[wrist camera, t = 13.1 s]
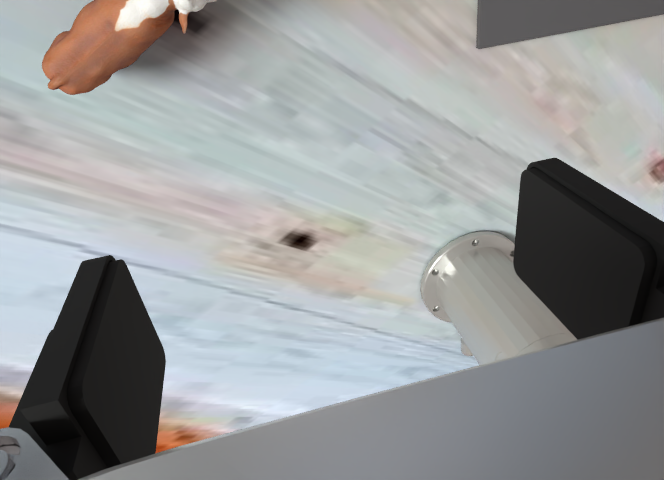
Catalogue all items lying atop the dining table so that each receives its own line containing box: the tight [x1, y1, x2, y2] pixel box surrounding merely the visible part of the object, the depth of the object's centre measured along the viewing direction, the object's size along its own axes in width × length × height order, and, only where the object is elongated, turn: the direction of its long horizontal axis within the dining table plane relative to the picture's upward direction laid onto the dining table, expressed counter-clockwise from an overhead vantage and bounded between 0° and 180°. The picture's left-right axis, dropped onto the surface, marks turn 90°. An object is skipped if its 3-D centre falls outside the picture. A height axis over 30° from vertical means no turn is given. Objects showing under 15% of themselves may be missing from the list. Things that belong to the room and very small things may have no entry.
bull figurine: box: [42, 0, 217, 95], centre depth 33 cm, size 4×13×8 cm, turn 119°
